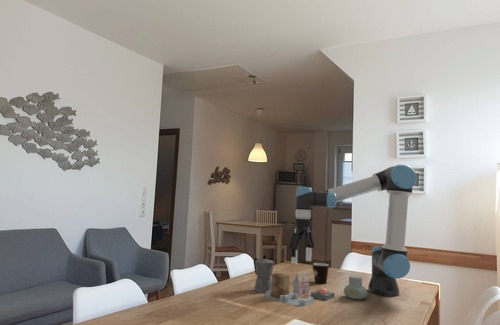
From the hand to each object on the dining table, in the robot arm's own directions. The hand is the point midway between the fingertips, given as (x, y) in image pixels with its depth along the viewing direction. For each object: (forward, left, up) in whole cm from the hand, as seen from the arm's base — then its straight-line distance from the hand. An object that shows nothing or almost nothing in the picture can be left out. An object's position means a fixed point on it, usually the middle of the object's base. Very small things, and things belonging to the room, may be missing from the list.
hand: (301, 262), depth 177 cm
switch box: (-11, -1, -15) cm, 19 cm away
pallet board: (-2, +14, -15) cm, 21 cm away
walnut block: (+3, +14, -14) cm, 20 cm away
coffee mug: (+7, -33, -16) cm, 37 cm away
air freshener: (-21, -15, -16) cm, 30 cm away
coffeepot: (+16, +10, -16) cm, 24 cm away
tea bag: (0, 0, -16) cm, 16 cm away
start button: (-11, -1, -15) cm, 18 cm away
